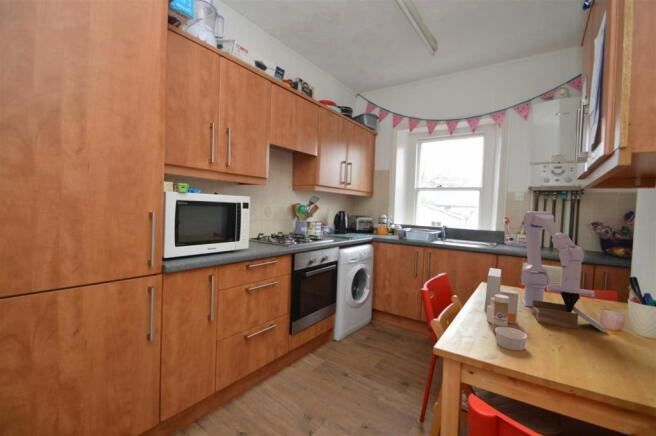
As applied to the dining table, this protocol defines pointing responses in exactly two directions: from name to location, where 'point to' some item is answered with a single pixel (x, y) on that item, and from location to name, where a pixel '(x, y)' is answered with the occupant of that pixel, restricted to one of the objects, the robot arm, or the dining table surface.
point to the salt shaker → (490, 311)
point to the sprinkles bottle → (500, 311)
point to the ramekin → (510, 338)
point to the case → (554, 314)
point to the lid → (589, 319)
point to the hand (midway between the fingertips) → (568, 311)
